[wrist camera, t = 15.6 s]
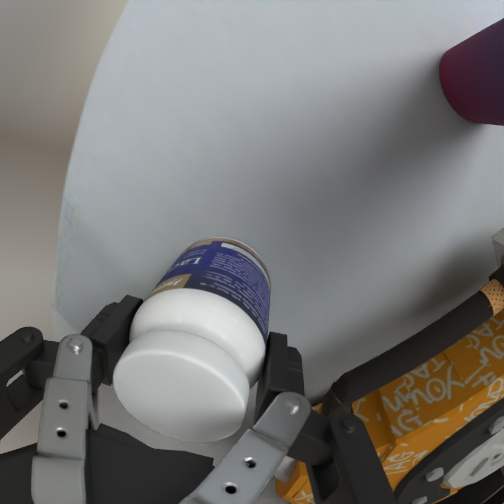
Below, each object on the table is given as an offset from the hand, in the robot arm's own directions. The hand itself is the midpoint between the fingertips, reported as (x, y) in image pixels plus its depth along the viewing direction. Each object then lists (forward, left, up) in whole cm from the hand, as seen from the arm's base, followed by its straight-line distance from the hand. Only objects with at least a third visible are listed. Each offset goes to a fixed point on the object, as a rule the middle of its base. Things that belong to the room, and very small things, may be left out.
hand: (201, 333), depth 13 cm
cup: (-16, +12, -6) cm, 21 cm away
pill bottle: (0, 0, -6) cm, 6 cm away
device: (+6, +18, -6) cm, 20 cm away
